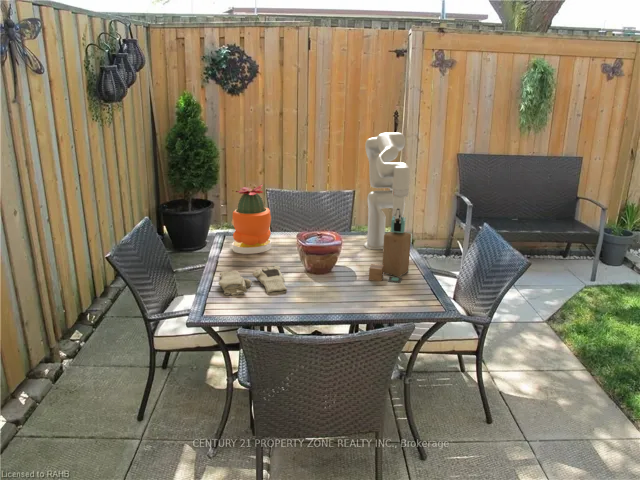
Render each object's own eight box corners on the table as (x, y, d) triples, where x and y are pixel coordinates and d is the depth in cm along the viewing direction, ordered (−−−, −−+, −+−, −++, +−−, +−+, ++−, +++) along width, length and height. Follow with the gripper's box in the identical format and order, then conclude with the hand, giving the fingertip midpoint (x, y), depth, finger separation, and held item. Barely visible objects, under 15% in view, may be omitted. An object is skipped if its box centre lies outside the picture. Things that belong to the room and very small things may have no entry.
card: (389, 277, 258) (389, 276, 258) (401, 278, 256) (402, 277, 256) (387, 281, 252) (387, 280, 252) (400, 283, 251) (400, 282, 251)
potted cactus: (228, 245, 297) (225, 183, 286) (266, 241, 306) (265, 180, 295) (239, 258, 279) (237, 192, 268) (280, 253, 288) (279, 188, 277)
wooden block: (399, 277, 257) (401, 238, 251) (381, 272, 263) (383, 233, 257) (409, 271, 265) (412, 233, 258) (391, 267, 270) (393, 229, 264)
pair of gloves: (281, 272, 262) (281, 262, 260) (287, 294, 238) (287, 283, 236) (218, 275, 257) (218, 265, 255) (218, 298, 233) (217, 287, 231)
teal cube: (392, 228, 261) (393, 216, 259) (404, 229, 259) (405, 217, 257) (390, 231, 255) (391, 219, 253) (403, 233, 254) (404, 220, 252)
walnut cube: (370, 275, 260) (371, 263, 258) (383, 276, 258) (383, 265, 257) (368, 279, 254) (369, 268, 252) (381, 281, 253) (382, 269, 251)
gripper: (394, 187, 260) (392, 223, 266) (390, 195, 244) (387, 233, 250) (410, 188, 258) (407, 224, 264) (406, 197, 242) (404, 235, 248)
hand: (397, 228), depth 257 cm, fingers closed on teal cube, 5 cm apart
